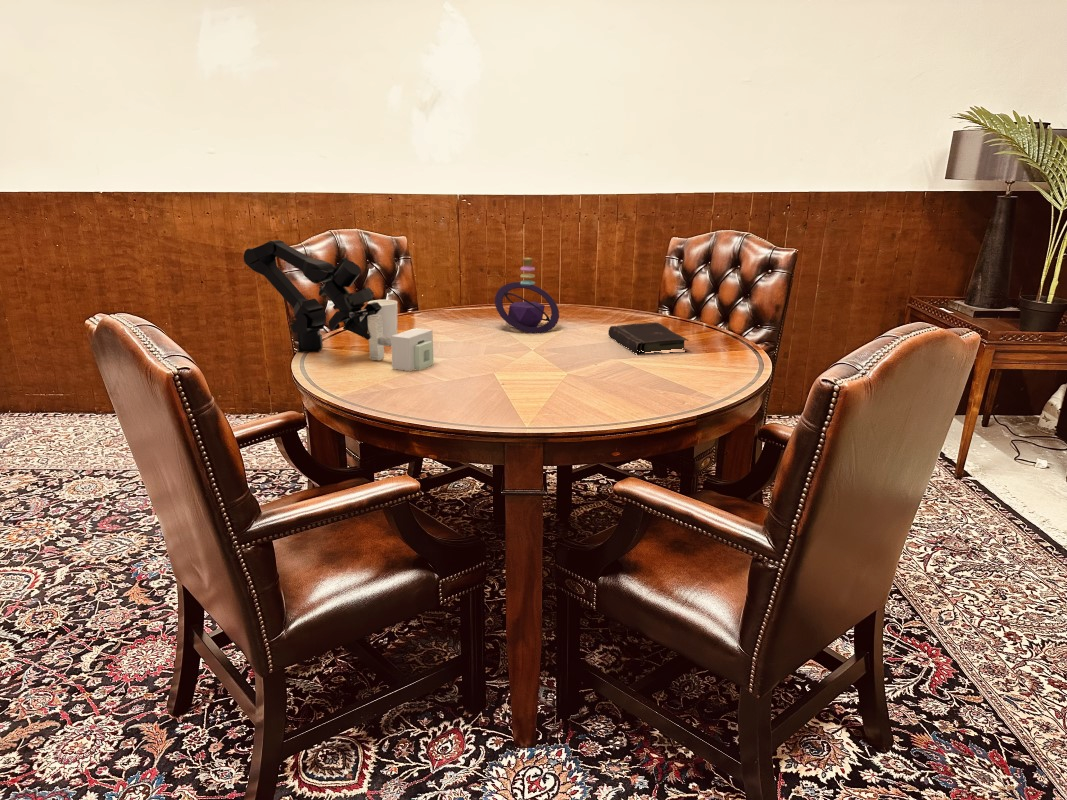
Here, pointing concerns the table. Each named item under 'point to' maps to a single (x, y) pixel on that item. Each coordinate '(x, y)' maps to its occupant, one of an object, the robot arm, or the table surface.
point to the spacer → (419, 350)
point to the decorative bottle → (526, 305)
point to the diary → (646, 337)
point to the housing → (408, 347)
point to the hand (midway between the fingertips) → (372, 337)
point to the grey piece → (376, 337)
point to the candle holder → (388, 316)
